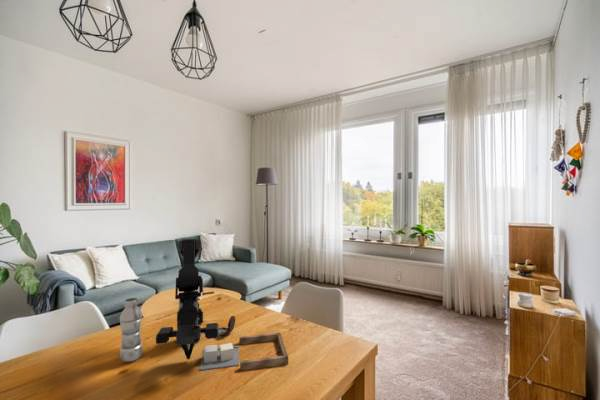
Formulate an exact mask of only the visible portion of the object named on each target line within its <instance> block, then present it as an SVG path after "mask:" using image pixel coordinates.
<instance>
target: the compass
mask: <svg viewBox="0 0 600 400" xmlns="http://www.w3.org/2000/svg"><path fill="white" fill-rule="evenodd" d="M235 324H236V316H235V315H230V318H229V320H228V323H227V327H225V326H224V327H223V326H222V327H219V331H218V337H217V339H218V338H220V337H226V336H228V335H230V333H232V331H234V328H235Z"/></svg>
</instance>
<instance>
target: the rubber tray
mask: <svg viewBox="0 0 600 400" xmlns="http://www.w3.org/2000/svg"><path fill="white" fill-rule="evenodd" d="M232 346H233V359H230V360H225V361H221V359H220V347H218V356H217V361H216V362H208V363H204V351H205V348H204V349H203V350H202V351H203V353H202V357H201V361H200V367H199V371H207V370H215V369H224V368H231V367H238V366H239V367H240V359H239V358H240V357H239V353H240V352H239V345H232Z"/></svg>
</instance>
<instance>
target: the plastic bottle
mask: <svg viewBox="0 0 600 400" xmlns="http://www.w3.org/2000/svg"><path fill="white" fill-rule="evenodd" d="M123 306H124V307H125V308H124V309H123V310H122V312H121V314H120V316H119V324H120V329H121V345H120V350H119V357H120V361H122V362H124V363H130V362H133V361H136V360H138V359H139V358H140V357H141V356H142V355H143V349H144V347H143V343H142V337H141V336H142V335H141V325H142V318H143V313H142V312H143V311H142V310H141V308H140V307H138V298H137V297H131V298H127V299H125V301H124V305H123Z"/></svg>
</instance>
